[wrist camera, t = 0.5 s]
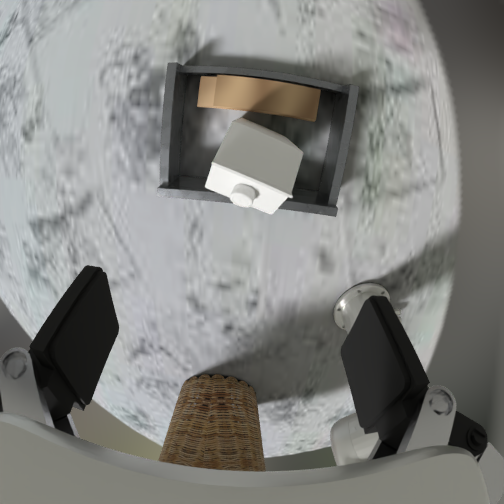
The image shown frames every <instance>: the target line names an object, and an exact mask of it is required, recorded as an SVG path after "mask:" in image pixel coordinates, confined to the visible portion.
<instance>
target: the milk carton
mask: <svg viewBox="0 0 504 504" xmlns="http://www.w3.org/2000/svg"><path fill="white" fill-rule="evenodd" d="M302 156H303V152H302V151H301V150H300V149H299V148H298V147H297V146H296V145H294V144H293V143H292V142H291V141H290V140H289V139H288V138H286V137H285V136H283V135H281V134H279V133H277V132H275V131H272V130H270V129H268V128H266V127H263V126H261V125H259V124H257V123H254V122H252V121H249V120H247V119H245V118H239V119H237V120H235V121H233V122H232V123H231V125H230V127H229V129H228V131H227V133H226V135H225V137H224V140H223V142H222V144H221V146H220V148H219V150H218V152H217V154H216V156H215V158H214V160H213V161H212V163H211V164H212V166H211V169H210V172H209V175H208V178H207V181H206V185H205V187H206V188H207V189H210V190H212V191H214V192H217V193H219V194H222V195H224V196H227V197H229V198H230V200H231V201H232V202H233V203H234V204H236V205H238V206H241V207H250V206H251V207H253V208H256V209H258V210H261V211H263V212H266V213H268V214H273V213H274V212H275V211H276V210H277V209H278V207H279V206H280V205H281V204H282V203H283V202H284V201H285V200H286V199H287V198H288V197H289V198H292V197H293V196H292V189H293V186H294V183H295V180H296V176H297V173H298V170H299V166H300V163H301V160H302Z"/></svg>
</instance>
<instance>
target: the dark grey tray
mask: <svg viewBox="0 0 504 504" xmlns="http://www.w3.org/2000/svg"><path fill="white" fill-rule="evenodd" d="M187 75H215V76H217V75H227V76H239V77H249V78H257V79H265V80H272V81H278V82H284V83H290V84H295V85H301V86H306V87H311V88H316V89H321V90H325V91H329V92H333V93H336V98H335V104H334V110H333V116H332V122H331V128H330V134H329V140H328V145H327V151H326V156H325V161H324V166H323V172H322V177H321V181H320V186H319V191H313V190H306V189H300V188H293V189H292V196H293V197H292V198H289V197H288V198H287V199H286V200H285V201H284V202H283V203H282V204H281V205H280V206H279V207H278V209H286V210H293V211H301V212H308V213H315V214H322V215H328V216H335V217H336V214H337V210H338V208H337V207H336V204H337V200H338V195H339V191H340V187H341V182H342V178H343V173H344V169H345V164H346V159H347V154H348V149H349V144H350V139H351V133H352V128H353V122H354V116H355V110H356V104H357V98H358V91H359V86H355V85H352V84H349V85H344V86H343V85H339V84H335V83H331V82H327V81H322V80H318V79H313V78H308V77H303V76H298V75H292V74H286V73H280V72H273V71H266V70H258V69H248V68H237V67H221V66H182V65H181V64H179V63H168V66H167V74H166V83H165V93H164V104H163V116H162V132H161V154H160V186H159V187H158V197H169V198H181V199H193V200H205V201H215V202H225V203H233V202H232V201H231V200H230V198H229V197H227V196H224V195H222V194H219V193H217V192H214V191H212V190H210V189H207V188H206V187H205V185H206V181H207V178H205V177H192V176H179V173H180V152H181V136H182V122H183V111H184V100H185V90H186V81H187Z"/></svg>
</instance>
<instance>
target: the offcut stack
mask: <svg viewBox="0 0 504 504" xmlns="http://www.w3.org/2000/svg"><path fill="white" fill-rule="evenodd" d="M320 92H321V90H319V89H315V88H310V87H305V86H300V85H295V84H290V83H284V82H278V81H272V80H265V79H257V78H249V77H239V76H227V75H217V77H208V76H201V80H200V87H199V95H198V104H197V107H208V108H222V109H233V110H242V111H251V112H259V113H266V114H273V115H279V116H285V117H291V118H296V119H302V120H307V121H312V122H315V120H316V116H317V110H318V104H319V98H320Z"/></svg>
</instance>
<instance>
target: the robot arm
mask: <svg viewBox="0 0 504 504" xmlns="http://www.w3.org/2000/svg"><path fill="white" fill-rule="evenodd" d="M400 314H401V309H393V307H392V306H391V304H390V296H389V293H388V292H387V290H386V289H385V288H384V287H383V286H381V285H379V284H375V283H365V284H361V285H358V286H355V287H353V288H351V289H350V290H348V291H347V292H346V293H344V294H343V295H342V296H341V297H340V298H339V300H338V301H337V303H336V305H335V307H334V311H333V316H334V319H335V322H336V324H337V325H338V326H339V327H340V328H341V329H344V330H346V331H347V334H348V336H347V338H346V340H345V342H344V344H343V345H342V348H341V356H342V360H343V363H344V367H345V370H346V374H347V378H348V382H349V385H350V389H351V393H352V397H353V401H354V405H355V409H356V412H355V413H353V414H350V415H348V416H346V417H344V418H341V419H340V420H338V421H337V422H335V423H334V425H333V426H332V428H331V431H330V442H331V447H332V450H333V454H334V457H335V460H336V464H337V466H334V467H327V468H319V469H310V470H296V471H276V472H275V471H272V472H252V471H228V470H215V469H205V468H197V467H189V466H183V465H176V464H171V463H165V462H160V461H155V460H151V459H146V458H142V457H137V456H134V455H130V454H126V453H122V452H119V451H116V450H113V449H109V448H106V447H103V446H100V445H97V444H94V443H91V442H88V441H86V440H83V439H80V437H79V435H78V432H77V430H76V428H75V425H74V422H73V420H72V417H71V415H70V412H71V409H72V407H75V408H77V409H80V410H83V411H84V409H85V406H86V405H88V404H90V402H91V400H92V397H93V394H94V391H95V389H96V386H97V383H98V381H99V378H100V376H101V373H102V371H103V368H104V366H105V363H106V361H107V358H108V356H109V353H110V351H111V349H112V346H113V344H114V342H115V339H116V337H117V335H118V332H119V324H118V320H117V317H116V313H115V309H114V305H113V301H112V297H111V292H110V288H109V284H108V279H107V275H106V273H105V272H103V270H102V268H100V267H95V266H89V265H87V266H85V267H84V268H83V270H82V271H81V272H80V274H79V275H78V276H77V277H76V279H75V280H74V281H73V283H72V284H71V285H70V287H69V288H68V289H67V291H66V292H65V294H64V295H63V296H62V298H61V299H60V301H59V302H58V303H57V305H56V306H55V308H54V309H53V311H52V312H51V314H50V315H49V317H48V318H47V320H46V321H45V323H44V324H43V326H42V327H41V329H40V330H39V332H38V333H37V335H36V337H35V338H34V340H33V342H32V343H31V345H30V350H29V352H27V351H26V350H25V349H23V348H12V349H10V350H8V351H7V352H6V353H5V354H4V355H3V356H2V358H1V359H0V504H498V502H499V500H500V498H501V496H502V494H503V492H504V458H503V457H502V456H501V455H500V454H499V452H498V451H497V450H496V449H495V448H494V447H493V446H492V445H491V444H490V442H489V443H488V444H487V434H486V432H485V430H484V428H483V427H482V426H481V425H479V424H478V423H476V422H474V421H473V420H471V419H469V418H468V417H466V416H464V415H463V414H461V413H459V412H457V411H456V401H455V399H454V396H453V394H452V393H451V392H450V391H449V390H448V389H447V388H445V387H443V386H440V385H435V386H432V387H430V388H429V387H428V384H429V383H430V382H429V380H428V378H427V375H426V373H425V371H424V369H423V367H422V364H421V362H420V360H419V358H418V356H417V354H416V352H415V350H414V348H413V346H412V344H411V342H410V340H409V338H408V336H407V334H406V332H405V330H404V328H403V326H402V324H401V317H398V316H397V315H400Z"/></svg>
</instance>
